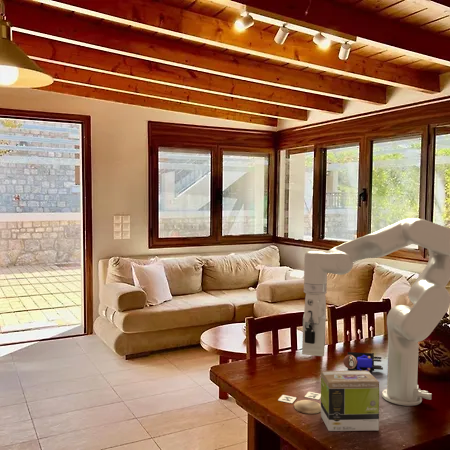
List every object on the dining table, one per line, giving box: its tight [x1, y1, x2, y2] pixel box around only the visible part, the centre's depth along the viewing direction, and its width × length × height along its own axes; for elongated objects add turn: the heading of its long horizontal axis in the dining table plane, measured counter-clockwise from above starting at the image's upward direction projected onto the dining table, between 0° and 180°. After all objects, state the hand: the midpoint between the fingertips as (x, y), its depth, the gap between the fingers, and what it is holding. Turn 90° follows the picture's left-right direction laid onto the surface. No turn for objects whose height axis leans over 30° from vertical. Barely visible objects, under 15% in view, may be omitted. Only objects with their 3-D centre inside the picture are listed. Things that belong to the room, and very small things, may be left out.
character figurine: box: [343, 351, 384, 372], centre depth 187 cm, size 8×7×15 cm
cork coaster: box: [293, 399, 321, 415], centre depth 154 cm, size 9×9×1 cm
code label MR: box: [277, 394, 298, 404], centre depth 160 cm, size 5×5×1 cm
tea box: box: [320, 370, 380, 432], centre depth 142 cm, size 15×10×15 cm, turn 92°
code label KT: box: [304, 391, 321, 401], centre depth 163 cm, size 5×5×1 cm
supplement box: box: [301, 314, 327, 357], centre depth 160 cm, size 7×7×13 cm
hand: (313, 339), depth 160 cm, fingers closed on supplement box, 8 cm apart
